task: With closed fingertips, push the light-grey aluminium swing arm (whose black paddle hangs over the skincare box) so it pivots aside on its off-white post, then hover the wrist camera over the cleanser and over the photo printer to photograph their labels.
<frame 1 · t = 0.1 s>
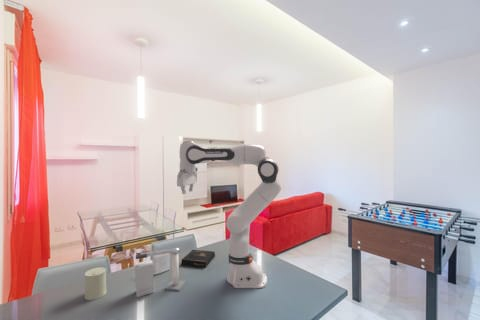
hand: (187, 192, 131), 48 cm above the table, tool pointing down, fingers open, 8 cm apart
swing arm: (158, 252, 116), point 19 cm above the table, hinge at 0.0°
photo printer: (161, 271, 135), on the table
skincare box: (144, 292, 114), on the table
can: (95, 294, 112), on the table
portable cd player: (199, 261, 149), on the table
post: (175, 286, 119), on the table
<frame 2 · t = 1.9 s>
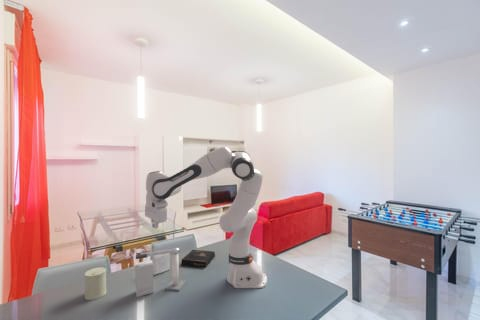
hand: (155, 227, 119), 31 cm above the table, tool pointing down, fingers closed
nothing on the table moved.
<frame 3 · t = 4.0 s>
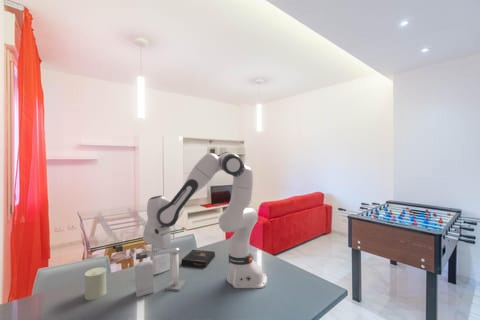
hand: (156, 253, 117), 18 cm above the table, tool pointing down, fingers closed
swing arm: (158, 253, 116), point 19 cm above the table, hinge at 2.4°, touching gripper
everything else where it was.
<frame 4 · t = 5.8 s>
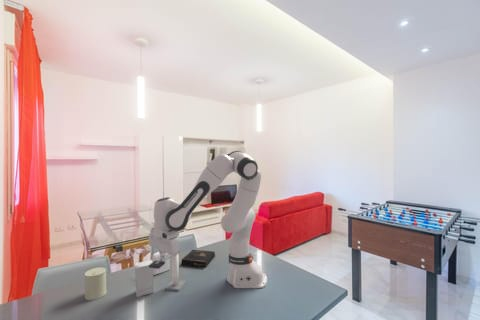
hand: (162, 258, 111), 18 cm above the table, tool pointing down, fingers closed, pressing on swing arm
swing arm: (166, 257, 111), point 19 cm above the table, hinge at 55.4°, touching gripper
everything else where it was.
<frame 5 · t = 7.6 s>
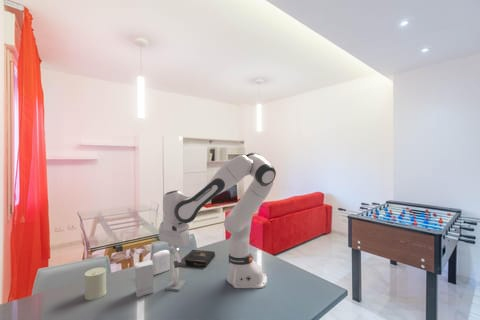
hand: (173, 252, 109), 22 cm above the table, tool pointing down, fingers closed
swing arm: (177, 256, 111), point 19 cm above the table, hinge at 91.5°
everything else where it was.
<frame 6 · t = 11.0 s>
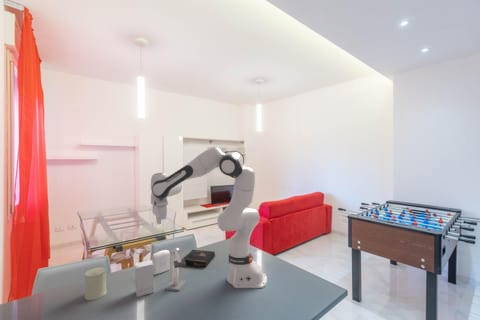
hand: (158, 223, 132), 30 cm above the table, tool pointing down, fingers closed
nothing on the table moved.
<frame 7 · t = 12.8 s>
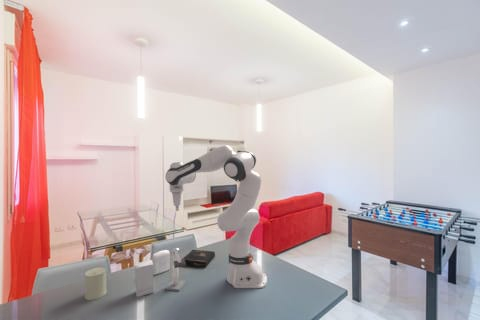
hand: (177, 210, 140), 36 cm above the table, tool pointing down, fingers closed
nothing on the table moved.
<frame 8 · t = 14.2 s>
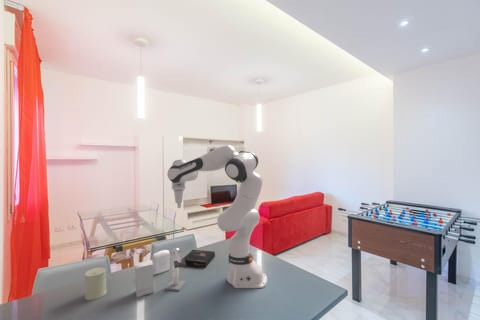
hand: (179, 207, 141), 37 cm above the table, tool pointing down, fingers closed
nothing on the table moved.
at the end: swing arm at +92° (first picture: +0°); skincare box moved 0.2 cm from its start; skincare box tilted 0° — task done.
